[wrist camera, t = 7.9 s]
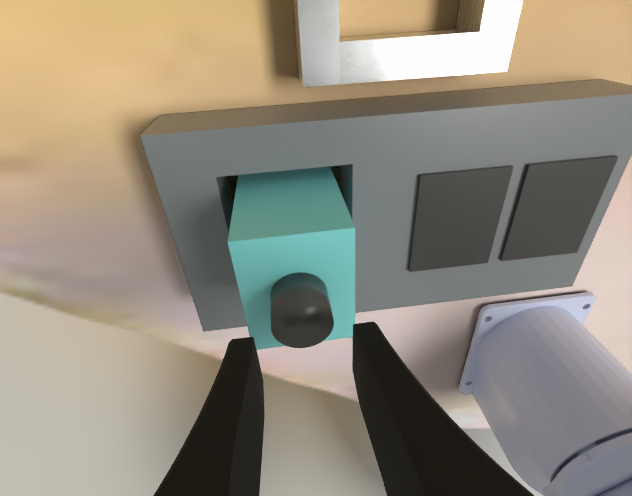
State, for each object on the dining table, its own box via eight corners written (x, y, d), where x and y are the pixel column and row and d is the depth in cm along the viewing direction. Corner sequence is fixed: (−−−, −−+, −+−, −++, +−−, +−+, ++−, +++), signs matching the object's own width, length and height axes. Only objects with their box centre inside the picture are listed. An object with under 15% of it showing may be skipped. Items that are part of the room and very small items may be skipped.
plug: (328, 240, 20) (363, 368, 13) (256, 249, 20) (252, 383, 13) (324, 153, 17) (366, 254, 10) (240, 161, 17) (222, 271, 10)
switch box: (537, 255, 22) (574, 288, 20) (210, 292, 21) (202, 334, 18) (601, 78, 17) (664, 92, 14) (160, 114, 15) (138, 137, 13)
